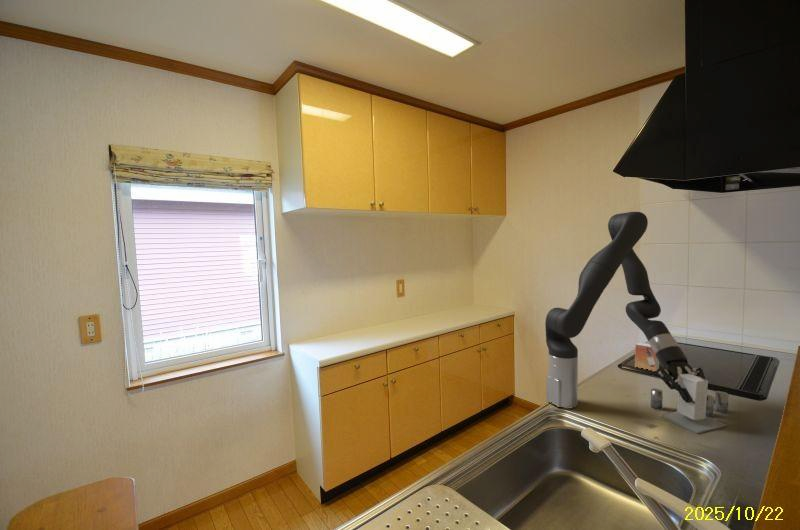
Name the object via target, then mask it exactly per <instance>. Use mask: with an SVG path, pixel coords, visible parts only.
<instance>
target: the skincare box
mask: <svg viewBox="0 0 800 530" xmlns="http://www.w3.org/2000/svg"><path fill="white" fill-rule="evenodd" d="M680 377H681V378H682V379H683V383H684V387H685V388H684V389H686V390H687V391H688V393H689V395H690V396H691V398H692V401H691V402H690V403H686V402H685V401H684V400H683V399H682V397H681V395H680V393H679V392H678V391H677V406H676V411H678V412H680V413H681V414H683V415H685V416H687V417H689V418H691V419H693V420H700V419H705V417H707V416H706V402H707V395H708V389H709V388H708V386H709V380H707V379H706V378H705V379H706V380H705V379H702V378H700V377H698V376H695V375H692V374H682V375H680Z"/></svg>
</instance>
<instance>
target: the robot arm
mask: <svg viewBox="0 0 800 530" xmlns="http://www.w3.org/2000/svg"><path fill="white" fill-rule="evenodd" d="M648 223H649V222H648V217H647V215H646V214H645V213H643V212H642V211H628V212H621V213H615V214H614V215H612V216H611V217H610V218H609V220H608V223H607V227H608V232H609V235H610V238H611V242H609V243H608V244H607V245H606V246H604V247H603V248H601V249H600V250H599V251H597V252H596V253H595V254H594V255H592V257H591V258H590V259H589V260H588V261H587V263H586V264H585V266H584V267H583V269H582V270H581V272H580V273H579V277H578V289H577V295H576V297H575V299H574V301H573V302H572V304H571V305H570V307H569V308H567V309H566V308H563V307H553V308H551V309H550V310H549V311H548V312H547V314H546V316H545V323H544V324H545V329H544V330H545V341H546V346H547V348H548V374H547V375H546V377H545V378H546V380H545V381H546V383H545V384H546V389H545V391H546V393H545V394H546V395H545V396H546V399H545V400H546V402H547V403H549V402H550V401H551V400H552V401H551V402H552V403H553V404H555V405H557V406H559V407H569V408H568V409H571V408H570V407H575V408H577V407H578V398H579V397H578V396H579V395H578V390H579V389H578V383H579V382H578V381H579V380H578V375H579V374H578V373H579V372H578V371H579V370H578V368H579V366H578V364H579V360H578V357H579V354H578V353H579V351H578V348H577V346H576V345H575V344H574V343H573V342H572V340H571V339H573V338H575V337H577V336H579V335H580V333H581V332H582V331H583V329H584V327H585V325H586V324H587V322H588V319H589V317H590V315H591V314H592V312H593V309H594V308H595V306H596V304H597V303H598V301H599V300H600V298H601V295H602V294H603V293H604V291H605V290H606V288H607V286H609V283H610V282H611V280H612V279H613V277H614V276H615V274H616V272H617V271H618V269H619V268H620V266H621V267H622V270H623V275H624V280H625V285H626V289H627V293H628V294H629V295H631V296H642V297H643V299H641V300H640V299H639V300H635V301H631V302H628V303H627V304H626V305H625V313H626V315H627V317H628V318H629V320H630V321H631V322H632V323H634V324H635V326H636V327H638V329H640V331H641V332H642V333H643V334H644V336H645V338H646V340H647V341H648V344H650V346H651V348H652V350H653V352H654V353H655V355H656V357H657V359H658V361H659V365H660V366H661V367H662V369H660V370H658V372H657V375H658V376H659V378H660V380H662V381H663V383H665V384H666V386H667V387H668V388H669V389H670V390H675V391H677V393H678V392H679V393H680V395H681V397H682V399H683V400H684V401H685V402H686V403H690V402H691V401H692V398H691V396H690V395H689V393H688V391H687V390H686V389H684V388H685V387H684V383H683V379H682V378H681V377H680V375H682V374H692V375H695V376H698V377H700V378H702V379H705V380H707V379H706V376H705V373H704V370H703V368H702V367H698V368H695V367H692V366H691V365H690V364H689V363H688V357H687V355H686V354H685V353H684V351H683V350H682V348H681V346H680V345H679V344H678V341H677V340H676V339H675V337H674V336H673V334H672V333H671V332H670V330H669V329H668V327H667V326H666V324H665V323H664V322H663V321H662V320H657V319H656V318H658V317H659V316H660V314H661V312H662V311H661V310H662V309H661V306H660V304H659V302H658V300H657V298H656V296H655V295H654V293H653V290H652V288H651V285H650V281H649V280H650V279H649V275H648V271H647V269H646V266H645V265H644V263H643V262H642V260H641V259H640V258H639V257H638V255H637V253H636V252H635V250H634V246H635V245H636V244H637V243H638V242H639V241H640V240H641V238H642V237H643V236H644V234H645V233H646V231H647V228H648V225H649V224H648ZM654 318H655V320H654ZM651 319H652V320H651ZM707 401H708V396H707ZM551 402H550V403H551ZM550 403H549V404H550ZM576 406H577V407H576Z"/></svg>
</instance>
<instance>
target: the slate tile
mask: <svg viewBox="0 0 800 530" xmlns="http://www.w3.org/2000/svg"><path fill="white" fill-rule="evenodd" d="M659 415H660V417H659V418H661V419H664V420H666V421H668V422H671V423H672V424H674V425H678V426H680V427H682V428H684V429H686V430H689V431H691V432H694V433H695V434H701V433H703V434H704V433H706V432H709V431H713V430H717V428H718V429H721V427H722V428H724V426H727V425H726V423H723V422H720V421H718V420H715V419H713V418H712V417H707V416H706V417H705V419H700V420H693V419H691V418H689V417H687V416H685V415H683V414H681V413H680V412H678V411H677V410H675V411H673V412H668V413H664V414H659Z"/></svg>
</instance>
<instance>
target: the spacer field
mask: <svg viewBox="0 0 800 530" xmlns="http://www.w3.org/2000/svg"><path fill="white" fill-rule="evenodd" d="M663 394H664V393H663V390H662V389H658V388H650V408H651V409H652V410H655V411H656V410H657V411H662V410H663V399H664V398H663V397H664V396H663ZM714 395H715V397H714V396H712V395H710V394H707V396H708V401H707V402H706V417H708V418H713V417H714V411H716V412H718V413H721V414H728V413H729V397H730V396H729V395H730V394H729V393H727V392H725V391H722V390H721V391H720V390H718V391H717V390H716V391H715V394H714ZM714 398H715V399H714ZM714 402H715V403H714ZM714 404H715V405H714ZM714 409H715V410H714Z"/></svg>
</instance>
